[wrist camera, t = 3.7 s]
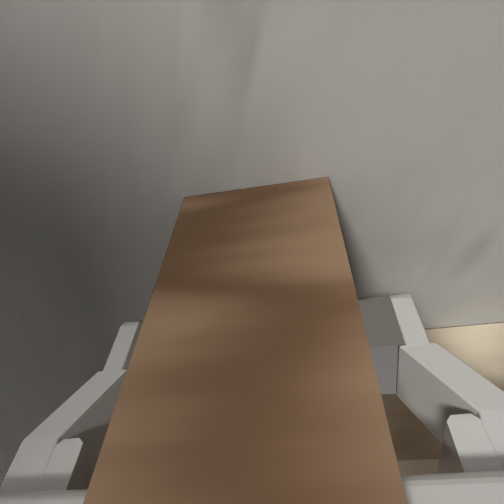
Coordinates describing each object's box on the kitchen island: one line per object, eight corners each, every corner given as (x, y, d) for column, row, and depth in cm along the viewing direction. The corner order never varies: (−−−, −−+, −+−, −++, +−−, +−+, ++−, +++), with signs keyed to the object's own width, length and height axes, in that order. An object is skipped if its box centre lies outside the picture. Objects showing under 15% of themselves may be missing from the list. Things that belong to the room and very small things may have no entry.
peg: (216, 299, 16) (161, 672, 8) (184, 197, 13) (48, 606, 5) (336, 287, 15) (410, 677, 7) (328, 176, 12) (432, 605, 4)
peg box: (246, 520, 28) (242, 615, 24) (168, 352, 18) (139, 473, 14) (527, 511, 26) (574, 615, 22) (635, 311, 15) (763, 442, 11)
